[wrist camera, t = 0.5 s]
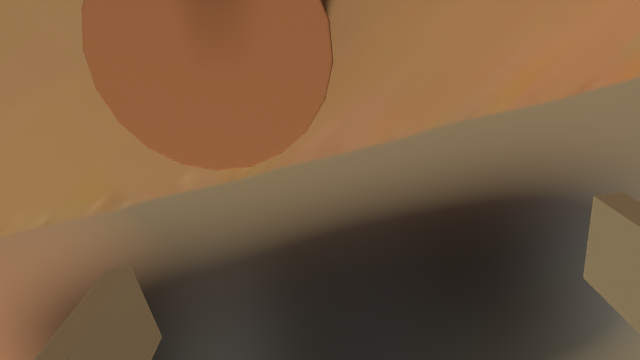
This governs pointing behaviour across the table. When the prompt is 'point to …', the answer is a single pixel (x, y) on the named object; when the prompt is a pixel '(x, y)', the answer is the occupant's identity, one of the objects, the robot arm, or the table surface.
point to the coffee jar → (210, 74)
